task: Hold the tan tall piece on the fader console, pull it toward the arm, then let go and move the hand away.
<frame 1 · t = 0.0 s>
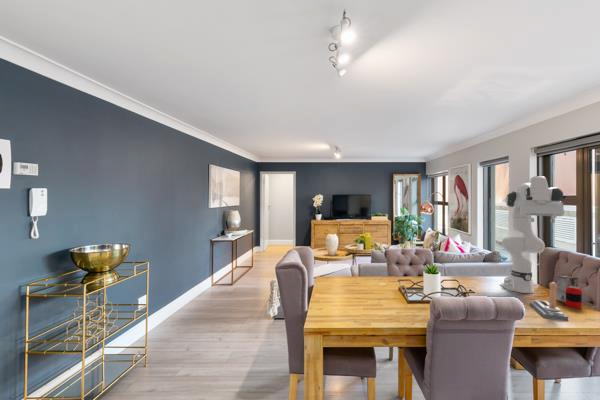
hand: (542, 222, 177), 54 cm above the table, tool tilted 30°, fingers open, 8 cm apart
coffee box: (566, 301, 206), on the table
tan tall piece: (552, 297, 179), point 11 cm above the table, slide at 0.0 cm
fader console: (547, 312, 185), on the table
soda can: (573, 306, 196), on the table
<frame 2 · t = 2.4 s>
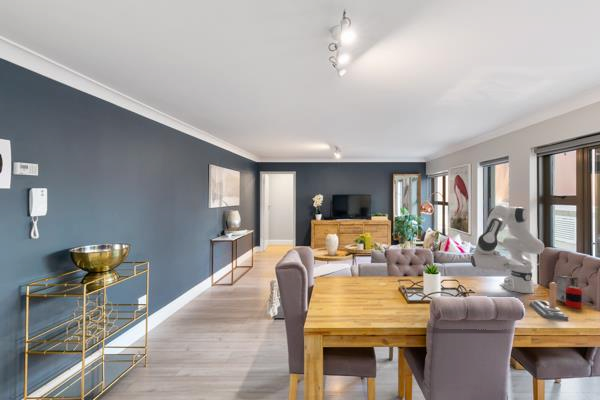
hand: (528, 265, 183), 28 cm above the table, tool horizontal, fingers open, 8 cm apart
nothing on the table moved.
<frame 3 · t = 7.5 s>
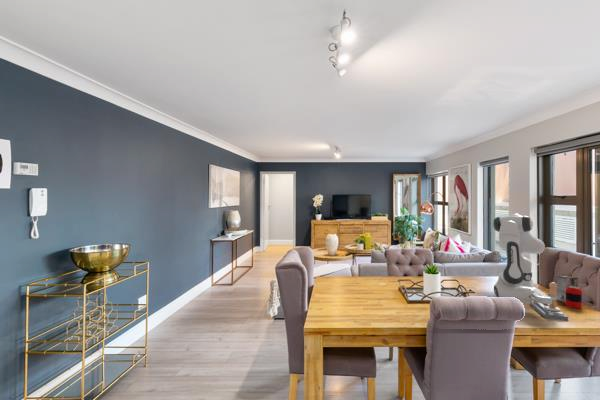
hand: (554, 297, 179), 11 cm above the table, tool horizontal, fingers closed on tan tall piece, 3 cm apart
tan tall piece: (552, 297, 179), point 11 cm above the table, slide at 0.0 cm, touching gripper
everything else where it was.
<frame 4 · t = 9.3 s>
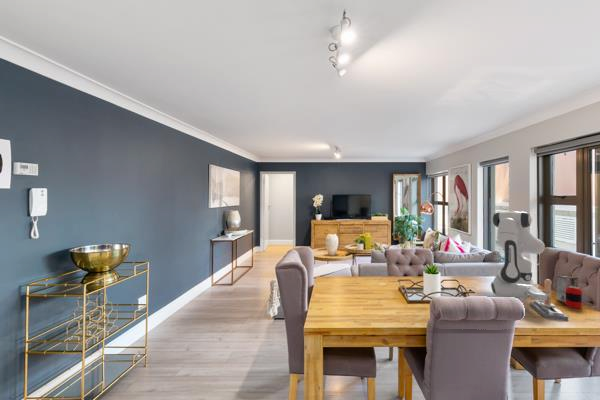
hand: (549, 293, 186), 11 cm above the table, tool horizontal, fingers closed on tan tall piece, 3 cm apart
tan tall piece: (547, 293, 186), point 11 cm above the table, slide at 6.8 cm, touching gripper
everything else where it was.
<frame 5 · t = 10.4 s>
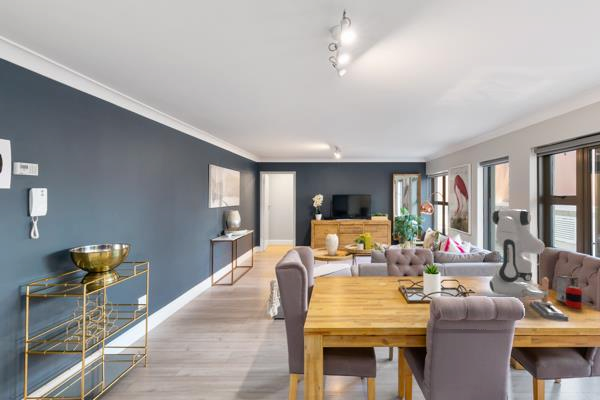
hand: (546, 291, 189), 11 cm above the table, tool horizontal, fingers closed on tan tall piece, 3 cm apart
tan tall piece: (544, 291, 190), point 11 cm above the table, slide at 10.9 cm, touching gripper
everything else where it was.
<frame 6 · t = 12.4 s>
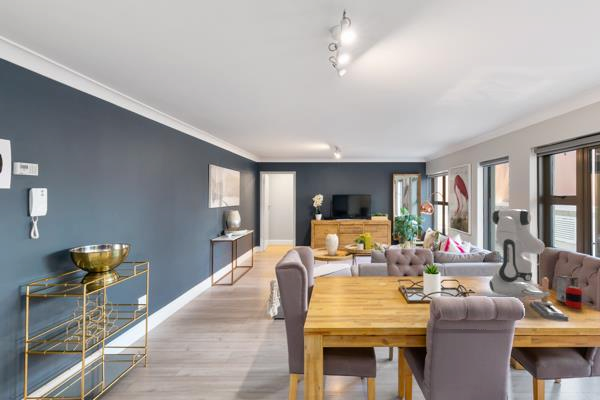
hand: (546, 291, 189), 11 cm above the table, tool horizontal, fingers open, 8 cm apart
tan tall piece: (544, 291, 190), point 11 cm above the table, slide at 10.9 cm
everything else where it was.
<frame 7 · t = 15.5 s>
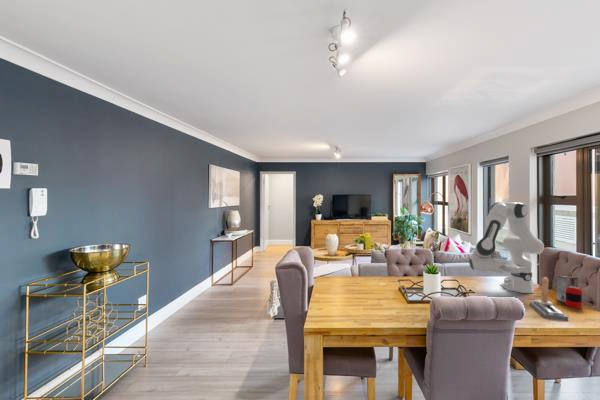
hand: (524, 267, 193), 25 cm above the table, tool horizontal, fingers open, 8 cm apart
nothing on the table moved.
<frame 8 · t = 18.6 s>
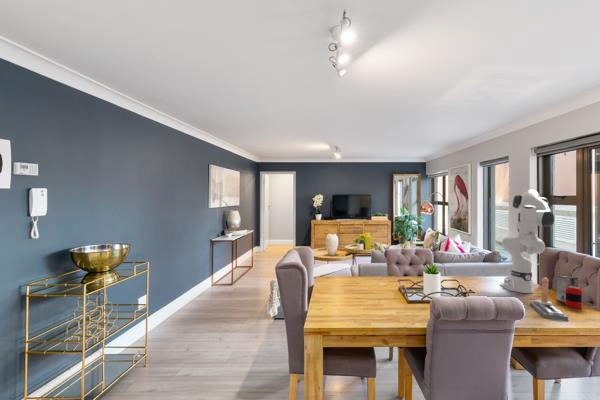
hand: (527, 253, 197), 33 cm above the table, tool pointing down, fingers open, 8 cm apart
nothing on the table moved.
at the end: tan tall piece slide at 10.9 cm; the gripper is holding nothing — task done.
